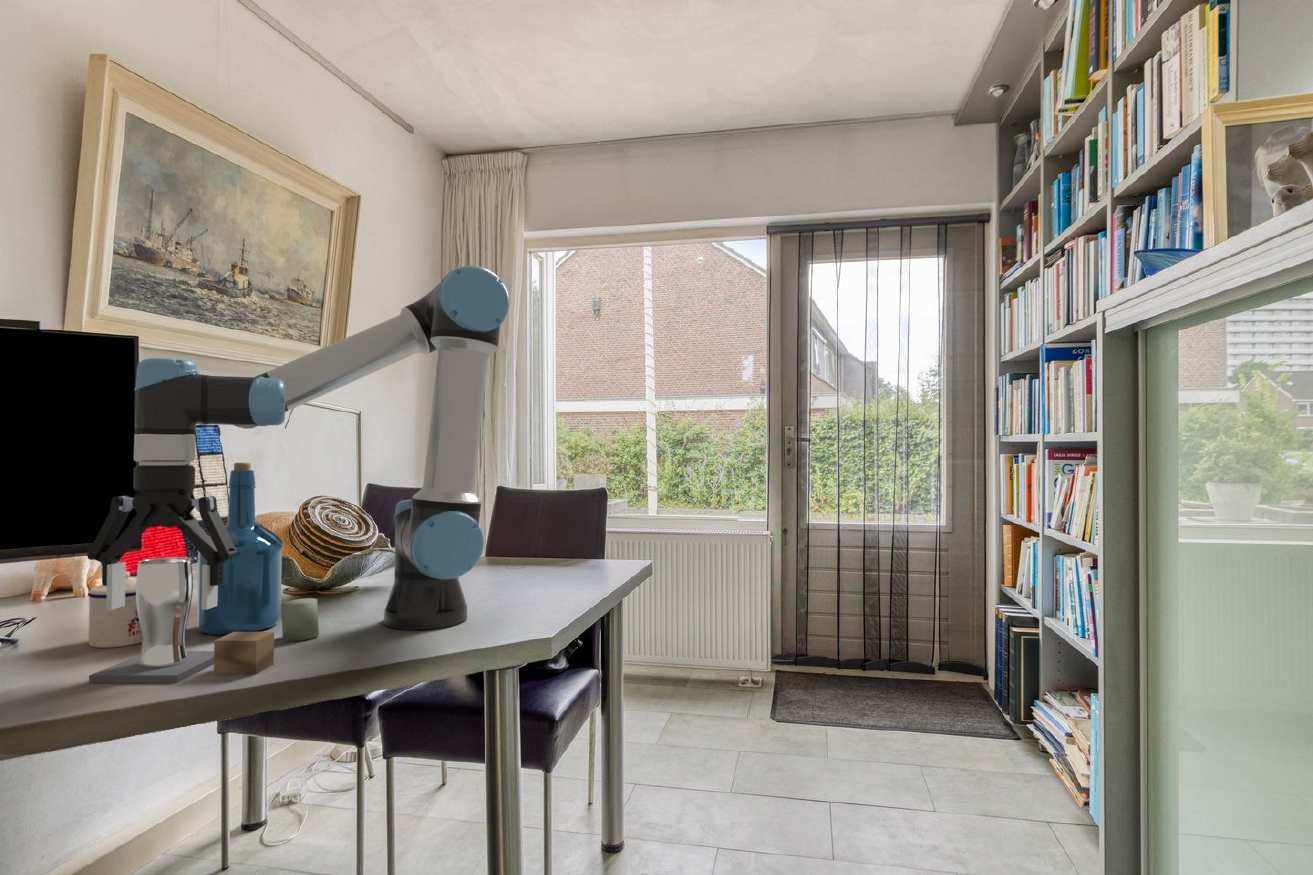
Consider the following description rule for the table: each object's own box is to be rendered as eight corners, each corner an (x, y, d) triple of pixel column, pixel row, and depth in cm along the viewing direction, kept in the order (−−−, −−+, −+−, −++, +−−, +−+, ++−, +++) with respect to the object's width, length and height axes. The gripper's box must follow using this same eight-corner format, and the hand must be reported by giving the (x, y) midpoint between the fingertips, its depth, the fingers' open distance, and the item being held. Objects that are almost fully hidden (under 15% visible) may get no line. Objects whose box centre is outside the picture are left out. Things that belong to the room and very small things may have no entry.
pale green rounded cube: (326, 633, 125) (324, 598, 125) (298, 642, 120) (297, 606, 120) (303, 631, 127) (301, 597, 127) (275, 640, 122) (273, 605, 122)
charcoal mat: (226, 657, 112) (226, 650, 112) (177, 682, 100) (177, 675, 100) (147, 657, 111) (147, 651, 111) (88, 682, 99) (88, 675, 99)
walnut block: (273, 664, 108) (274, 631, 108) (255, 675, 103) (256, 640, 103) (233, 664, 108) (233, 631, 108) (213, 675, 103) (214, 640, 103)
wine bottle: (189, 640, 122) (193, 463, 122) (203, 622, 134) (206, 462, 134) (280, 632, 127) (283, 463, 128) (285, 616, 139) (288, 462, 140)
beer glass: (128, 671, 101) (130, 565, 101) (141, 658, 107) (143, 558, 108) (186, 666, 104) (188, 562, 104) (195, 653, 110) (197, 555, 110)
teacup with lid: (138, 647, 117) (140, 575, 117) (74, 650, 115) (76, 577, 115) (171, 629, 129) (172, 564, 129) (113, 631, 127) (114, 565, 127)
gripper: (263, 463, 110) (261, 602, 110) (98, 462, 109) (95, 602, 109) (236, 464, 103) (234, 613, 102) (58, 463, 102) (55, 613, 101)
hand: (162, 608), depth 106 cm, fingers open, 13 cm apart
